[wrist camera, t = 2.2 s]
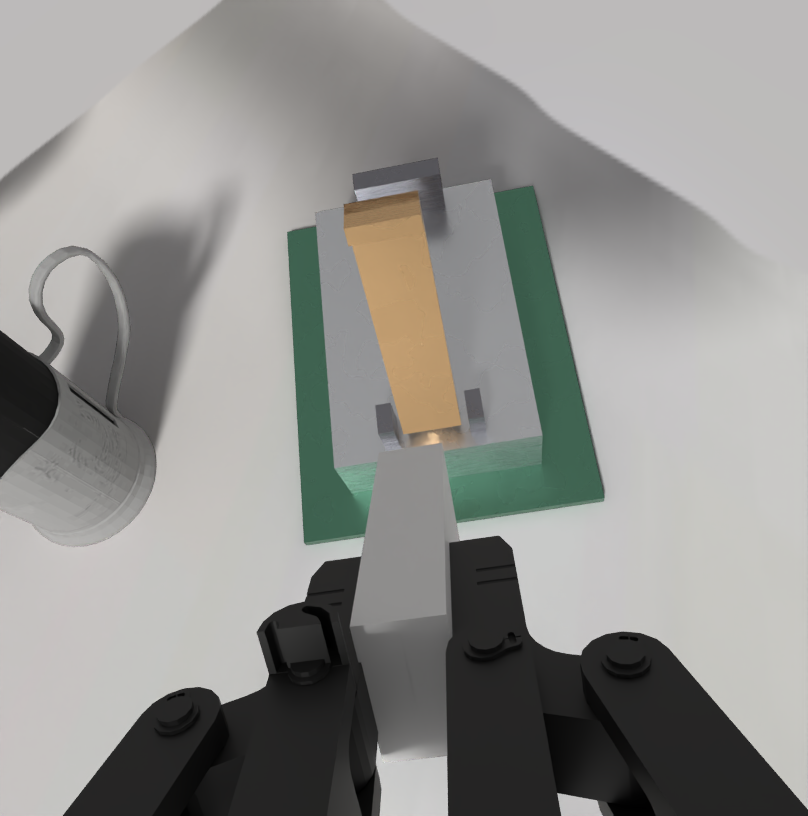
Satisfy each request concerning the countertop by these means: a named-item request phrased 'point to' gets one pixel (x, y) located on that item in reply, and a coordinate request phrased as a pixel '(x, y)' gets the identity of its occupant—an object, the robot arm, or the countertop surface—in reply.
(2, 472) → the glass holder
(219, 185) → the countertop surface
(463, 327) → the green base fixture
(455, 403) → the tan rectangular bar
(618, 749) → the robot arm
